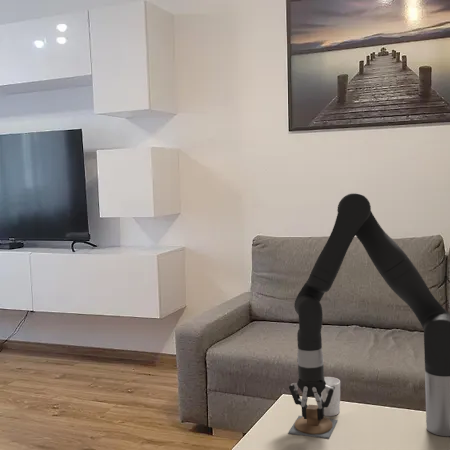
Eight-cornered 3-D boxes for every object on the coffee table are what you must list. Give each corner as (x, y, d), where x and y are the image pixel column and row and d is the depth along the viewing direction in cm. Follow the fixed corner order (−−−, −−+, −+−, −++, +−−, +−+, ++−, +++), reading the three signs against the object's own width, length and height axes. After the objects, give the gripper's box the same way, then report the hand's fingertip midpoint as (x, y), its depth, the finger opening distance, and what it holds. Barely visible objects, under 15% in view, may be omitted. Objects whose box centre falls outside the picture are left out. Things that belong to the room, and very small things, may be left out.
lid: (335, 420, 176) (335, 401, 176) (328, 436, 166) (327, 416, 166) (300, 416, 181) (299, 398, 180) (290, 431, 170) (289, 412, 170)
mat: (337, 421, 177) (337, 419, 177) (329, 438, 166) (329, 437, 166) (299, 416, 181) (298, 415, 181) (288, 433, 170) (288, 432, 170)
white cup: (343, 416, 180) (342, 385, 179) (317, 417, 180) (316, 386, 179) (339, 406, 188) (337, 376, 187) (314, 407, 188) (313, 377, 187)
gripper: (337, 360, 172) (339, 416, 174) (290, 356, 178) (293, 411, 179) (331, 368, 166) (334, 426, 167) (283, 364, 171) (286, 421, 173)
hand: (313, 418), depth 173 cm, fingers open, 3 cm apart
